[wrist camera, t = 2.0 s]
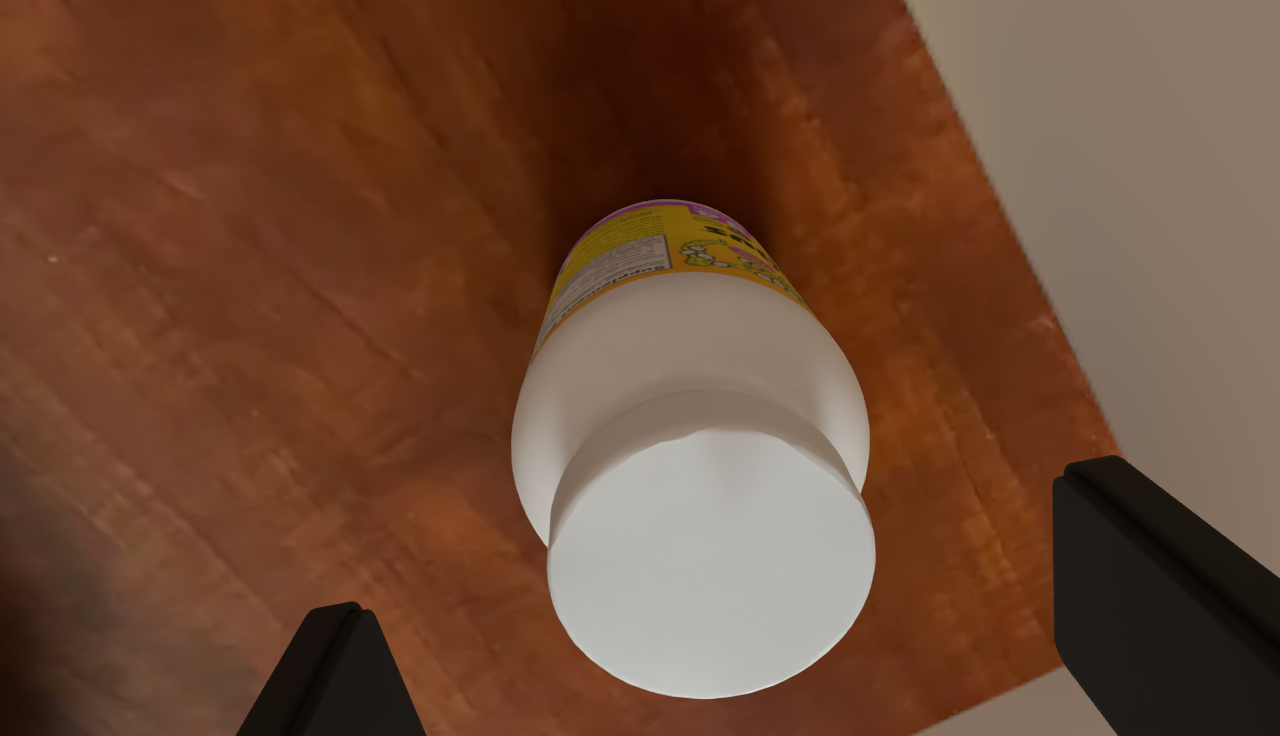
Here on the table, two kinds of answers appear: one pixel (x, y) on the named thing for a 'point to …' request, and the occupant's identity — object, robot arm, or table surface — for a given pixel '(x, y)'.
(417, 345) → the table surface
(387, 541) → the table surface
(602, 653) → the supplement bottle
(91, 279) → the table surface
